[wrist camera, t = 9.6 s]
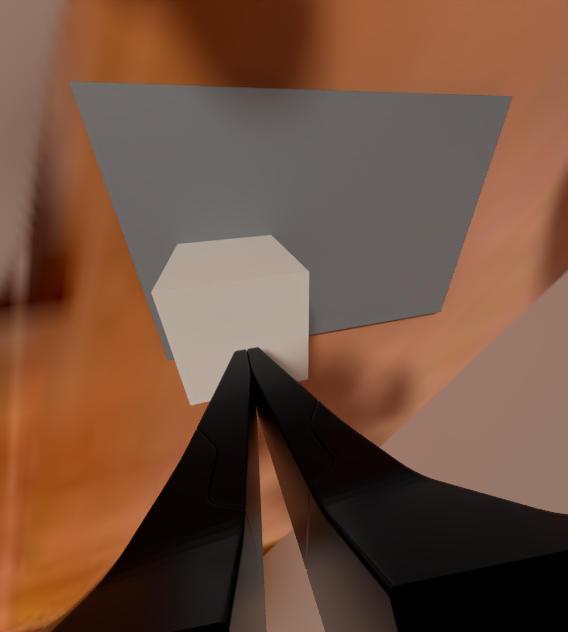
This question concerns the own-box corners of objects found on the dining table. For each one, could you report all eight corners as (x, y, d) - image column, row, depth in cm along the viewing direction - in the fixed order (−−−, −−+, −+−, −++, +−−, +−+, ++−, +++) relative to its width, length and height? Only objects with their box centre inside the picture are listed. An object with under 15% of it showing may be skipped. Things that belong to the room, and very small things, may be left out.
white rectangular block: (271, 234, 14) (309, 271, 9) (276, 312, 17) (308, 379, 11) (177, 244, 13) (151, 292, 8) (198, 325, 16) (190, 405, 10)
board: (501, 99, 14) (512, 96, 14) (435, 308, 21) (440, 311, 21) (76, 86, 10) (68, 81, 9) (169, 354, 17) (168, 360, 16)
